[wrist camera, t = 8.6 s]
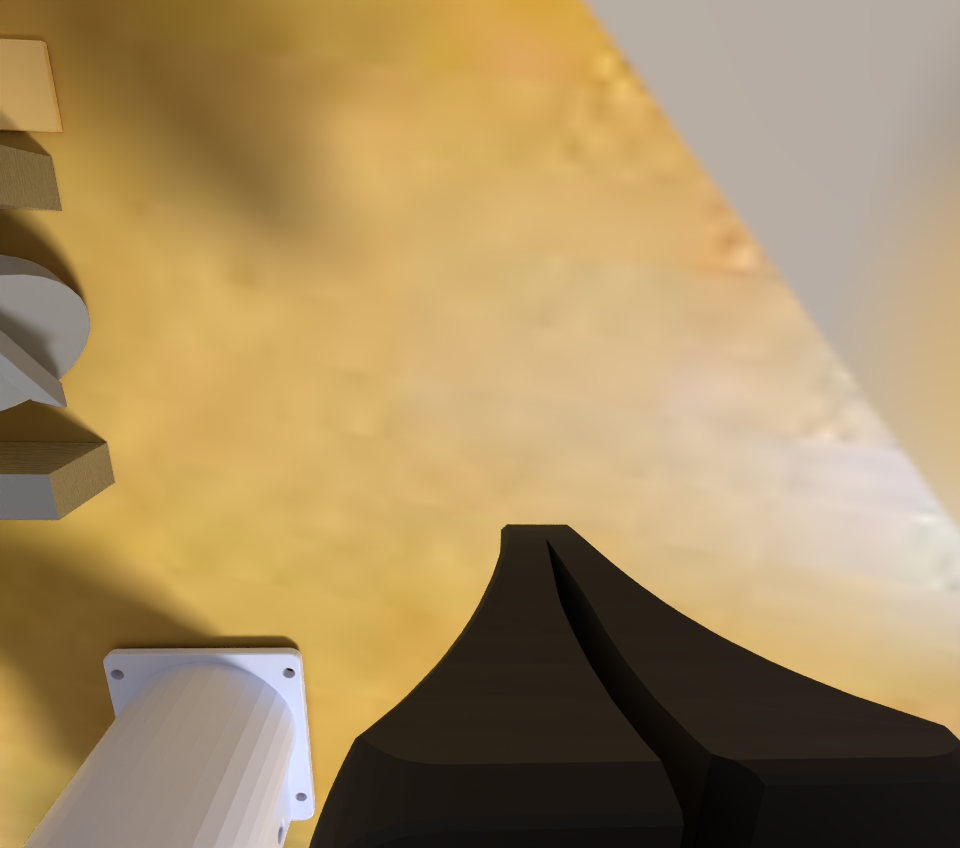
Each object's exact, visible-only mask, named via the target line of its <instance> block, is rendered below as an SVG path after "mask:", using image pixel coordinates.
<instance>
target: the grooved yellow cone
mask: <svg viewBox="0 0 960 848" xmlns="http://www.w3.org/2000/svg"><path fill="white" fill-rule="evenodd" d="M89 320H90V319H89V315H88V311H87V308H86V306H85V304H84V303H83V301H82V299H81V298H80V297H79V296H78V295H77V294H76V293H75V292H74V291H73V290H72V289H71V288H69V287H68V286H67V285H66V284H65V283H64V282H62V281H61V280H60V279H59V278H58V277H57V276H55V275H54V274H53V273H52V272H51V271H49V270H48V269H46V268H44V267H42V266H41V265H39V264H37V263H35V262H32V261H29V260H26V259H23V258H19V257H12V256H6V255H0V411H2V410H5V409H8V408H11V407H14V406H16V405H18V404H20V403H23V402H25V401H27V400H29V399H31V400H32V401H36V402H41V403H45V404H49V405H54V406H58V407H62V408H65V407H67V404H66V399H65V395H64V391H63V387H62V383H60V382H59V381H58V380H59V379H60V378H61V377H62V376H63V375H64V374H65V373H66V372H67V371H68V370H69V369H70V368H71V367H72V365H73V364H74V363H75V361H76V360H77V359H78V357H79V356H80V354H81V352H82V350H83V348H84V346H85V344H86V341H87V338H88V334H89Z"/></svg>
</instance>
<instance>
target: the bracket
mask: <svg viewBox="0 0 960 848" xmlns="http://www.w3.org/2000/svg"><path fill="white" fill-rule="evenodd" d="M0 209H12V210H46V211H62V210H61V204H60V199H59V194H58V189H57V184H56V179H55V174H54V168H53V163H52V158H51V157H50V156H46V155H42V154H38V153H33V152H29V151H25V150H20V149H16V148H12V147H8V146H3V145H0ZM113 483H115V482H114V477H113V472H112V467H111V462H110V456H109V451H108V446H107V443H82V442H0V520H60V519H61V518H63V517H64V516H66V515H67V514H69V513H70V512H72V511H73V510H75V509H76V508H78V507H79V506H80V505H82V504H83V503H85V502H86V501H88V500H89V499H91V498H92V497H94V496H95V495H97V494H98V493H100V492H101V491H103V490H104V489H106V488H107V487H109V486H110V485H112V484H113Z"/></svg>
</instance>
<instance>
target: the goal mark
mask: <svg viewBox="0 0 960 848" xmlns="http://www.w3.org/2000/svg"><path fill="white" fill-rule="evenodd" d="M0 130H5V131H33V132H60V133H63V130H62V125H61V119H60V114H59V109H58V103H57V98H56V92H55V87H54V82H53V76H52V71H51V66H50V60H49V55H48V50H47V44H46V43H45V42H43V41H39V40H16V39H0Z"/></svg>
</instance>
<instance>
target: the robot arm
mask: <svg viewBox="0 0 960 848" xmlns="http://www.w3.org/2000/svg"><path fill="white" fill-rule="evenodd" d="M103 665H104V669H105V674H106V678H107V682H108V687H109V691H110V696H111V700H112V705H113V709H114V713H115V718H116V719H115V720H114V722H113V723H112V724H111V726H110V727H109V728H108V730H107V731H106V733H105V734H104V735H103V737H102V738H101V739H100V741H99V742H98V743H97V745H96V746H95V748H94V749H93V750H92V752H91V753H90V754H89V756H88V757H87V758H86V760H85V761H84V763H83V764H82V765H81V767H80V768H79V769H78V771H77V772H76V774H75V775H74V776H73V778H72V779H71V780H70V782H69V783H68V784H67V786H66V787H65V789H64V790H63V791H62V793H61V794H60V795H59V797H58V798H57V799H56V801H55V802H54V804H53V805H52V806H51V808H50V809H49V810H48V812H47V813H46V815H45V816H44V817H43V819H42V820H41V821H40V823H39V824H38V825H37V827H36V828H35V830H34V831H33V832H32V834H31V835H30V836H29V838H28V839H27V840H26V842H25V843H24V845H23V846H22V847H21V848H283V845H284V841H285V838H286V835H287V831H288V828H289V824H290V821H291V820H307V819H309V818H311V817H312V816H313V814H314V810H315V795H314V784H313V773H312V762H311V751H310V740H309V729H308V717H307V706H306V695H305V684H304V673H303V662H302V656H301V653H300V652H299V651H298V650H296V649H294V648H164V649H114V650H112V651H110V652H109V653H108V655H107V656H106V657H105V658H104V660H103ZM286 668H291V669H293V670H294V671H288V670H287V669H286ZM118 670H120V671H122V672H120V671H118ZM309 848H960V740H959V739H958V738H957V737H956V736H955V735H954V734H953V733H952V732H951V731H950V730H949V729H948V728H946V727H945V726H943V725H940V724H937V723H934V722H931V721H928V720H925V719H922V718H919V717H916V716H913V715H910V714H907V713H904V712H901V711H898V710H895V709H892V708H889V707H887V706H884V705H881V704H878V703H875V702H872V701H869V700H866V699H863V698H860V697H857V696H854V695H851V694H849V693H846V692H843V691H841V690H838V689H836V688H833V687H831V686H828V685H826V684H823V683H821V682H818V681H816V680H813V679H811V678H808V677H806V676H803V675H801V674H798V673H796V672H794V671H792V670H789V669H787V668H785V667H783V666H780V665H778V664H776V663H774V662H771V661H769V660H767V659H765V658H763V657H761V656H759V655H757V654H755V653H753V652H751V651H749V650H747V649H745V648H743V647H741V646H739V645H737V644H735V643H733V642H731V641H729V640H727V639H725V638H723V637H721V636H719V635H718V634H716V633H714V632H712V631H710V630H709V629H707V628H705V627H704V626H702V625H700V624H699V623H697V622H695V621H694V620H692V619H690V618H688V617H687V616H685V615H683V614H682V613H680V612H679V611H677V610H675V609H674V608H672V607H671V606H669V605H668V604H666V603H665V602H663V601H662V600H660V599H659V598H658V597H656V596H655V595H653V594H652V593H651V592H649V591H648V590H646V589H645V588H644V587H642V586H641V585H639V584H638V583H637V582H636V581H634V580H633V579H632V578H630V577H629V576H628V575H626V574H625V573H624V572H623V571H621V570H620V569H619V568H618V567H617V566H615V565H614V564H613V563H612V562H610V561H609V560H608V559H607V558H606V557H605V556H603V555H602V554H601V553H600V552H599V551H598V550H596V549H595V548H594V547H593V546H592V545H591V544H589V543H588V542H587V541H586V540H585V539H584V538H583V537H581V536H580V535H579V534H578V533H577V532H576V531H574V530H573V529H572V528H571V527H569V526H568V525H512V524H507V525H506V526H505V527H504V528H503V529H501V548H500V555H499V558H498V561H497V564H496V567H495V570H494V573H493V575H492V578H491V580H490V582H489V584H488V587H487V589H486V591H485V593H484V595H483V597H482V599H481V601H480V603H479V605H478V607H477V608H476V610H475V612H474V614H473V615H472V617H471V619H470V620H469V622H468V623H467V625H466V627H465V628H464V630H463V631H462V633H461V634H460V635H459V637H458V638H457V639H456V641H455V642H454V643H453V645H452V646H451V647H450V649H449V650H448V651H447V653H446V654H445V655H444V656H443V658H442V659H441V660H440V661H439V662H438V664H437V665H436V666H435V667H434V668H433V669H432V670H431V671H430V672H429V673H428V674H427V675H426V676H425V678H424V679H423V680H422V681H421V682H420V683H419V684H418V685H417V686H416V687H415V688H414V689H413V690H412V691H411V692H410V693H409V694H408V695H407V696H406V697H405V698H404V699H403V700H402V701H401V702H400V703H398V704H397V705H396V706H395V707H394V708H393V709H391V710H390V711H389V712H388V713H387V714H385V715H384V716H383V717H382V718H380V719H379V720H378V721H377V722H376V723H374V724H373V725H372V726H371V727H370V728H368V729H367V730H366V731H365V732H363V733H362V734H360V735H359V736H358V737H357V738H355V740H354V742H353V744H352V746H351V748H350V750H349V752H348V754H347V756H346V758H345V760H344V762H343V764H342V766H341V768H340V770H339V772H338V774H337V777H336V779H335V781H334V783H333V786H332V788H331V790H330V792H329V794H328V797H327V799H326V802H325V804H324V807H323V809H322V812H321V815H320V817H319V820H318V823H317V826H316V828H315V831H314V834H313V837H312V839H311V843H310V846H309Z"/></svg>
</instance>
